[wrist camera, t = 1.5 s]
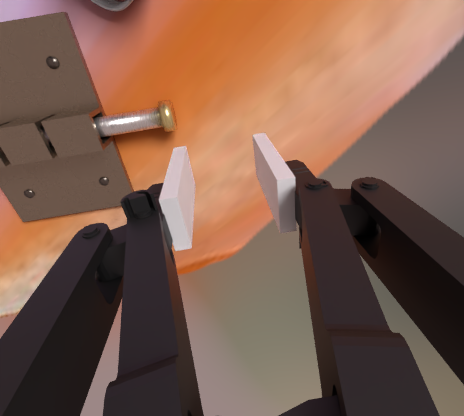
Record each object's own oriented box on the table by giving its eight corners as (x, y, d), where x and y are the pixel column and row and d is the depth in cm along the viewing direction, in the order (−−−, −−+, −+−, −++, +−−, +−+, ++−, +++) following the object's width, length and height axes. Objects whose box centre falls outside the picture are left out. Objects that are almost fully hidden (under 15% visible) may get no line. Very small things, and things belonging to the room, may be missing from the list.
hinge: (26, 218, 39) (7, 237, 35) (-91, 38, 27) (-138, 37, 23) (137, 200, 39) (130, 216, 35) (67, 12, 27) (45, 7, 24)
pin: (41, 148, 34) (26, 158, 31) (26, 121, 32) (9, 128, 29) (178, 126, 34) (175, 133, 31) (171, 97, 32) (167, 102, 29)
